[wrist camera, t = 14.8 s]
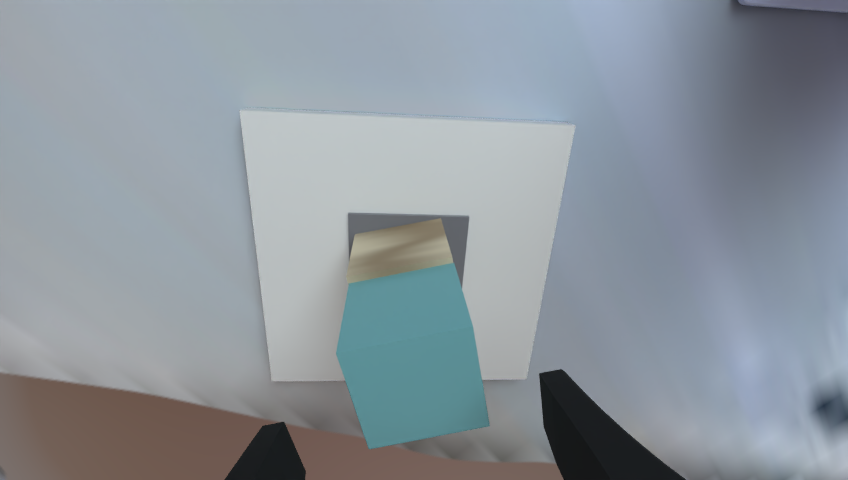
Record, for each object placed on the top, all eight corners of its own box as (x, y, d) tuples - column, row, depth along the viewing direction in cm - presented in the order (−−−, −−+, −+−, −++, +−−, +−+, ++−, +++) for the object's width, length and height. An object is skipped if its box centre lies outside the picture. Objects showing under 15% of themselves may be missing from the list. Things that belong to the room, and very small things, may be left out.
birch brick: (440, 218, 19) (452, 256, 16) (453, 292, 21) (466, 342, 17) (354, 234, 19) (346, 276, 16) (374, 306, 21) (370, 360, 17)
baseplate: (566, 122, 19) (577, 126, 18) (521, 367, 25) (527, 381, 24) (247, 107, 18) (237, 111, 17) (276, 368, 23) (270, 384, 22)
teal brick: (454, 262, 16) (472, 326, 12) (468, 347, 17) (489, 425, 14) (349, 283, 16) (335, 353, 12) (373, 366, 17) (369, 449, 14)
